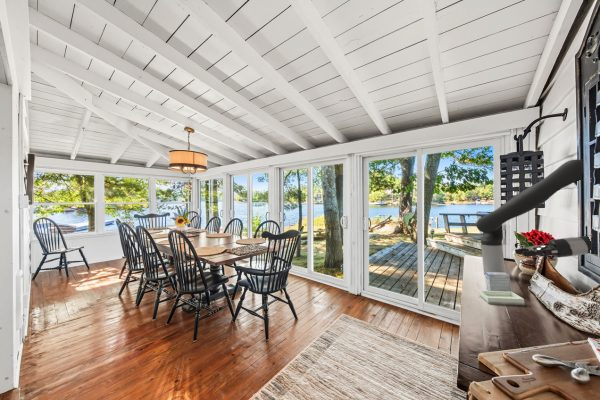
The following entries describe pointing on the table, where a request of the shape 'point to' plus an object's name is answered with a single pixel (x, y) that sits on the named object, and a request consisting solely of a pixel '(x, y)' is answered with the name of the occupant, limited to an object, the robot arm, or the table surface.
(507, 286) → the medicine box
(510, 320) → the table surface
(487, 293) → the tray
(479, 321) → the table surface
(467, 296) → the table surface
